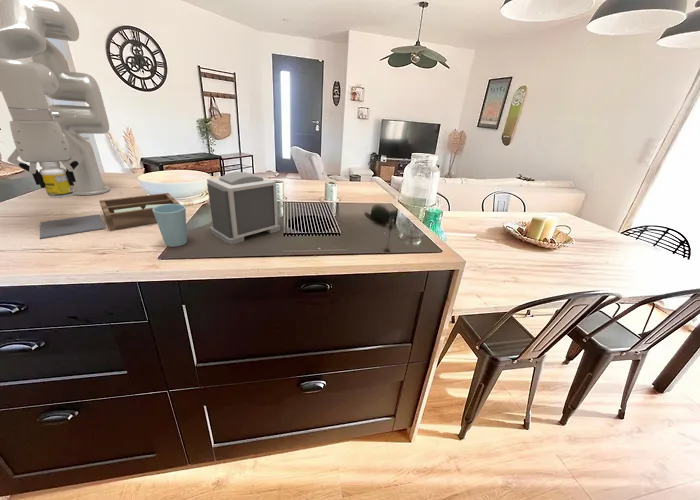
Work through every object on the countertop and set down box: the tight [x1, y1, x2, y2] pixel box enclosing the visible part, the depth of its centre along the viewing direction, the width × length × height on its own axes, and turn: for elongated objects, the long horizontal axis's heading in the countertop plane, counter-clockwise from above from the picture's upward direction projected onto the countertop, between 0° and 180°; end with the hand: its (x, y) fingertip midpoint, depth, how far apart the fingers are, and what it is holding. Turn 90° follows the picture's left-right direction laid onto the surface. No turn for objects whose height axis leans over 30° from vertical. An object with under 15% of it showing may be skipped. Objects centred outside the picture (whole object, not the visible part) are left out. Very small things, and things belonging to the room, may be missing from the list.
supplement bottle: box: [38, 162, 74, 199], centre depth 82 cm, size 5×5×10 cm
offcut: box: [114, 207, 142, 213], centre depth 93 cm, size 4×7×4 cm, turn 132°
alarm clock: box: [206, 171, 281, 245], centre depth 91 cm, size 18×13×18 cm
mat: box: [39, 213, 106, 240], centre depth 88 cm, size 14×14×1 cm
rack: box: [99, 192, 182, 232], centre depth 97 cm, size 16×20×5 cm
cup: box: [152, 203, 188, 248], centre depth 81 cm, size 8×8×10 cm
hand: (57, 185), depth 83 cm, fingers closed on supplement bottle, 5 cm apart
